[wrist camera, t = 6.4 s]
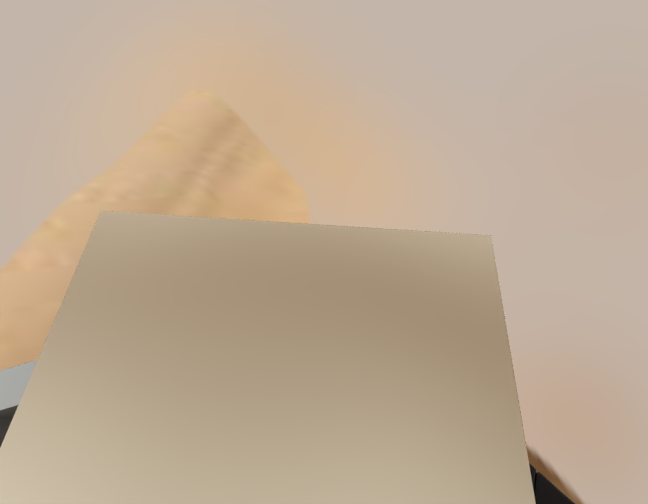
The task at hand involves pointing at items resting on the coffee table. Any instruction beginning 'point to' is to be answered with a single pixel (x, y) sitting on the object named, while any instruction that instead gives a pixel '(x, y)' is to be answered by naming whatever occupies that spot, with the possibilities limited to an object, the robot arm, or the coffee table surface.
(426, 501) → the block
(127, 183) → the coffee table surface
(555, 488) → the robot arm
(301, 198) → the coffee table surface
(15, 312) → the coffee table surface
